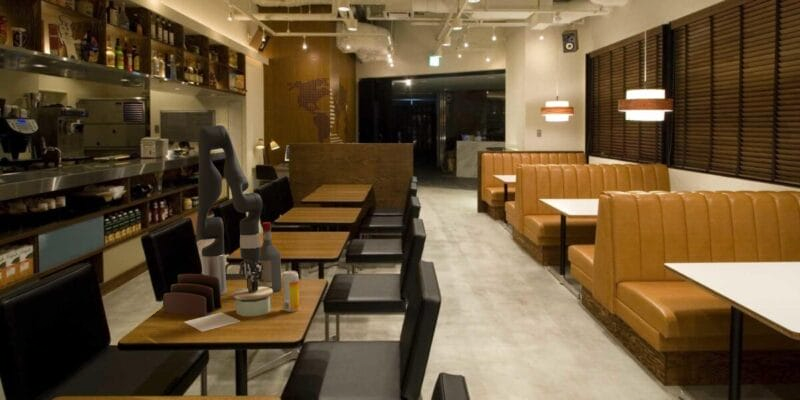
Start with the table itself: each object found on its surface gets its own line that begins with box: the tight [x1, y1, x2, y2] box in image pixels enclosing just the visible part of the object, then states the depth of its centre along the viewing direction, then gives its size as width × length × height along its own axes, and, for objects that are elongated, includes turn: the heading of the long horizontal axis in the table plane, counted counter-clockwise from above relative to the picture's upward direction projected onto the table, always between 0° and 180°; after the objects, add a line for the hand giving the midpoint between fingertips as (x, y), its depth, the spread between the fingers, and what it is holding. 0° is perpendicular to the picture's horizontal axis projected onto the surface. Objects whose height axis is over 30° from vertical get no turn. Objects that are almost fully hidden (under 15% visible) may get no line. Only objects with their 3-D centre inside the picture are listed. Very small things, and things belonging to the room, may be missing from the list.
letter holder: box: [162, 273, 223, 317], centre depth 232 cm, size 10×20×14 cm, turn 71°
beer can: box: [281, 270, 301, 313], centre depth 232 cm, size 6×6×15 cm
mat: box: [184, 312, 242, 332], centre depth 218 cm, size 15×15×1 cm
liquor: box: [258, 221, 283, 294], centre depth 259 cm, size 9×9×30 cm
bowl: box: [235, 295, 272, 317], centre depth 230 cm, size 12×12×6 cm
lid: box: [231, 278, 274, 300], centre depth 229 cm, size 15×15×6 cm
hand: (252, 289), depth 229 cm, fingers closed on lid, 3 cm apart
